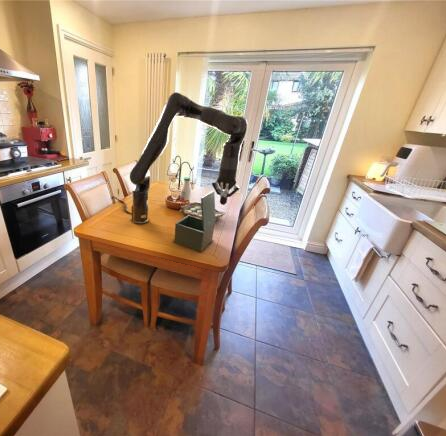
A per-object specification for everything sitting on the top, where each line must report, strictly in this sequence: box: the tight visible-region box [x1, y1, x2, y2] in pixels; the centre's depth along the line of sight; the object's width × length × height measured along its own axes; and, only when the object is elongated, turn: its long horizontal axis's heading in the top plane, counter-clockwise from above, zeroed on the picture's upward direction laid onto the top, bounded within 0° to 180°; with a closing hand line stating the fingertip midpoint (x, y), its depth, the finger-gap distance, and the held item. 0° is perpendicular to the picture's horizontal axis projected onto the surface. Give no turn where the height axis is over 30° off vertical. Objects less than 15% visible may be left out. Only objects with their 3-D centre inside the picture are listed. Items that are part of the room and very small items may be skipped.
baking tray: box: [179, 201, 227, 221], centre depth 154 cm, size 30×22×5 cm
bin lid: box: [200, 190, 216, 232], centre depth 113 cm, size 17×14×1 cm
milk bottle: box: [179, 176, 192, 203], centre depth 168 cm, size 8×8×20 cm
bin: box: [173, 215, 216, 253], centre depth 122 cm, size 16×14×11 cm
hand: (222, 204), depth 108 cm, fingers closed
